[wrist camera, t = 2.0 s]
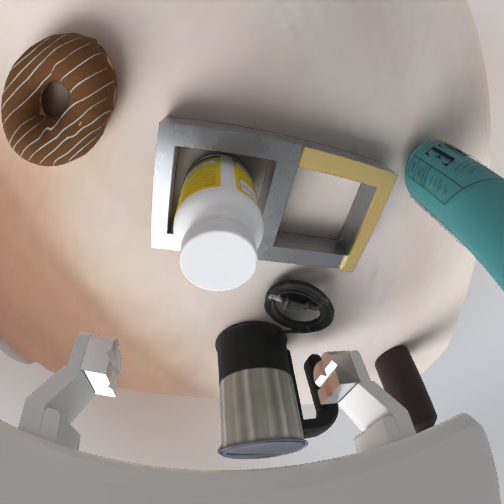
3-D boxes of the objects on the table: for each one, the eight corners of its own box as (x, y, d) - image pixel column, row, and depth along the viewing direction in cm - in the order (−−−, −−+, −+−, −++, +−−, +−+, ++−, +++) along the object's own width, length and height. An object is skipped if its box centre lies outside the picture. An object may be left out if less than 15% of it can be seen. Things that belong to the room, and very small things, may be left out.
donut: (22, 47, 11) (-6, 50, 8) (131, 26, 13) (112, 19, 10) (22, 160, 17) (-3, 177, 14) (120, 157, 19) (102, 176, 16)
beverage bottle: (407, 206, 25) (533, 369, 9) (382, 155, 21) (559, 335, 5) (450, 171, 22) (587, 305, 6) (430, 118, 19) (615, 249, 3)
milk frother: (221, 364, 37) (228, 462, 26) (190, 287, 28) (184, 429, 16) (320, 347, 38) (347, 442, 26) (328, 264, 28) (383, 394, 16)
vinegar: (376, 370, 46) (408, 460, 30) (371, 357, 42) (408, 460, 26) (407, 354, 44) (444, 442, 29) (406, 340, 41) (449, 439, 25)
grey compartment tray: (166, 116, 18) (158, 123, 16) (381, 163, 22) (397, 175, 19) (156, 230, 24) (150, 249, 21) (342, 253, 27) (352, 271, 25)
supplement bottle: (178, 206, 22) (158, 290, 15) (193, 145, 19) (174, 203, 12) (240, 221, 24) (251, 307, 16) (261, 163, 21) (289, 230, 13)
